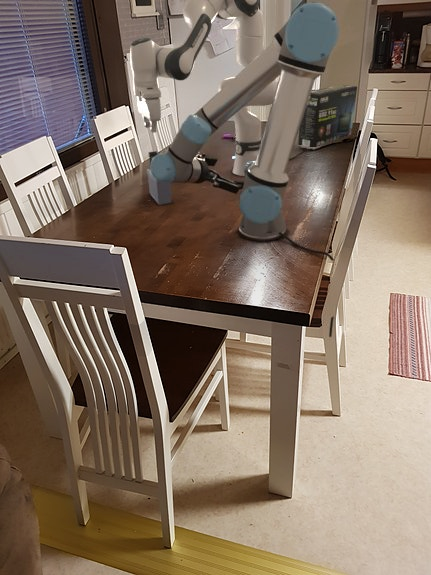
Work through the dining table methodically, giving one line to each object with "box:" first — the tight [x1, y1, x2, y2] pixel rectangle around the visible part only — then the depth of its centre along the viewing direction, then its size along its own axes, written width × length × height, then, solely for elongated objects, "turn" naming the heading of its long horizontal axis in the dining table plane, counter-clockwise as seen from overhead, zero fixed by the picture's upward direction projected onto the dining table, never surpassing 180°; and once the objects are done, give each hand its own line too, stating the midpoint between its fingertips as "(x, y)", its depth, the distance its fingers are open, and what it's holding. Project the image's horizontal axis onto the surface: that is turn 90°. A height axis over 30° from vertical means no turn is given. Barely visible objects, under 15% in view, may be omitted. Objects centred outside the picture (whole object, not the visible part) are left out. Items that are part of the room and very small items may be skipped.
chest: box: [146, 172, 173, 206], centre depth 179 cm, size 14×5×9 cm, turn 21°
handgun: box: [222, 133, 236, 139], centre depth 255 cm, size 21×8×2 cm, turn 11°
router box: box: [297, 84, 358, 151], centre depth 238 cm, size 36×11×27 cm, turn 134°
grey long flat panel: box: [146, 150, 163, 183], centre depth 174 cm, size 14×5×8 cm, turn 21°
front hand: (229, 173), depth 155 cm, fingers open, 13 cm apart
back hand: (150, 129), depth 172 cm, fingers open, 8 cm apart
